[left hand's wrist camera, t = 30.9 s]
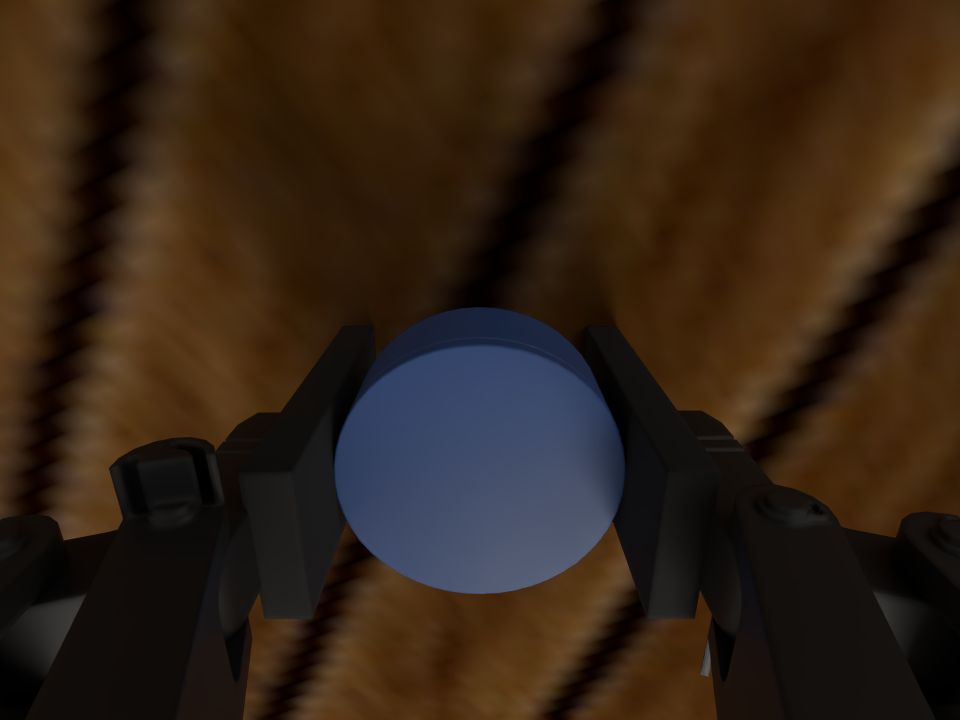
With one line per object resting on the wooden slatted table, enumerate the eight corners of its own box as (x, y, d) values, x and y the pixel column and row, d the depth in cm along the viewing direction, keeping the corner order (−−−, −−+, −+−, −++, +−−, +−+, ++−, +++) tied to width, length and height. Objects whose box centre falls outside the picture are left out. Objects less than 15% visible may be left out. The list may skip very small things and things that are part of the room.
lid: (625, 322, 11) (657, 363, 9) (577, 534, 13) (595, 606, 11) (363, 291, 11) (336, 326, 9) (353, 512, 13) (329, 581, 11)
